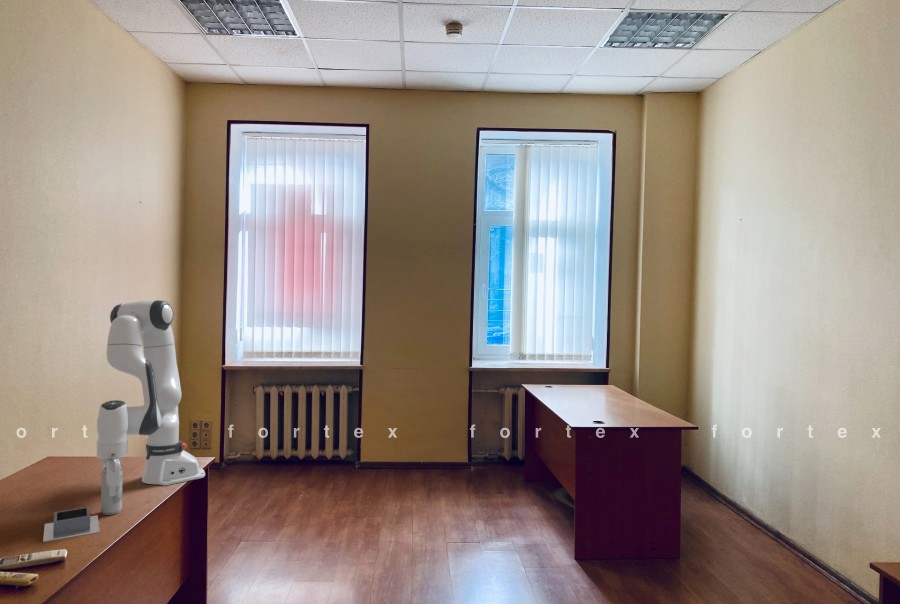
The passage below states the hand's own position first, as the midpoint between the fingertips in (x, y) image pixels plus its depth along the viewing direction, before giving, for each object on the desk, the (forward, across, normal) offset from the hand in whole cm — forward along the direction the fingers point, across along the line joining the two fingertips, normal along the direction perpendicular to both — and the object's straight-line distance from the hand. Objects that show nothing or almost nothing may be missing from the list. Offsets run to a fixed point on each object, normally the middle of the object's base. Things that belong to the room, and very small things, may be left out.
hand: (111, 492), depth 189 cm
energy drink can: (+7, 0, 0) cm, 7 cm away
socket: (+7, -9, +11) cm, 16 cm away
